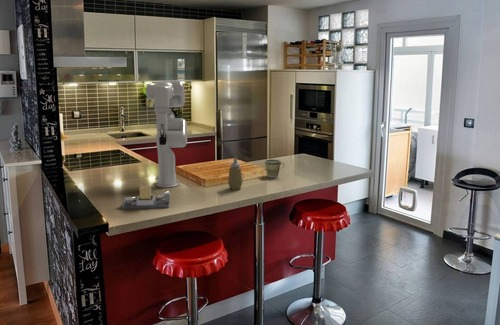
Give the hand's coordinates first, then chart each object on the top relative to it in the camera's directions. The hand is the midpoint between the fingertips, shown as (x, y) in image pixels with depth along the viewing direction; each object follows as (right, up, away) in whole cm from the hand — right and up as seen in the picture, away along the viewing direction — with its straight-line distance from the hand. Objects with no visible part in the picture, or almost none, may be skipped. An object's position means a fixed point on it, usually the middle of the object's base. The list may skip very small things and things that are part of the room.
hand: (163, 143), depth 226 cm
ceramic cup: (+61, -19, +50) cm, 81 cm away
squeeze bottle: (+37, -25, +21) cm, 49 cm away
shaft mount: (-6, -31, -12) cm, 34 cm away
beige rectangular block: (-6, -30, -12) cm, 33 cm away
